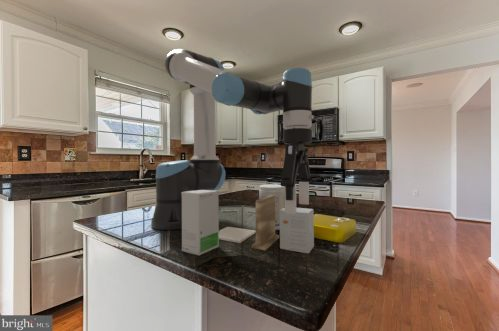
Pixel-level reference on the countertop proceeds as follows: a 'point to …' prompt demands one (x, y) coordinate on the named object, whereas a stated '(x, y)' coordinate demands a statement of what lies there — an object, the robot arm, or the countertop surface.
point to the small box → (297, 230)
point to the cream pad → (235, 234)
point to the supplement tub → (279, 199)
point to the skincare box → (200, 221)
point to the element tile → (333, 228)
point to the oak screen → (265, 223)
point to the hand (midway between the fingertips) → (297, 208)
